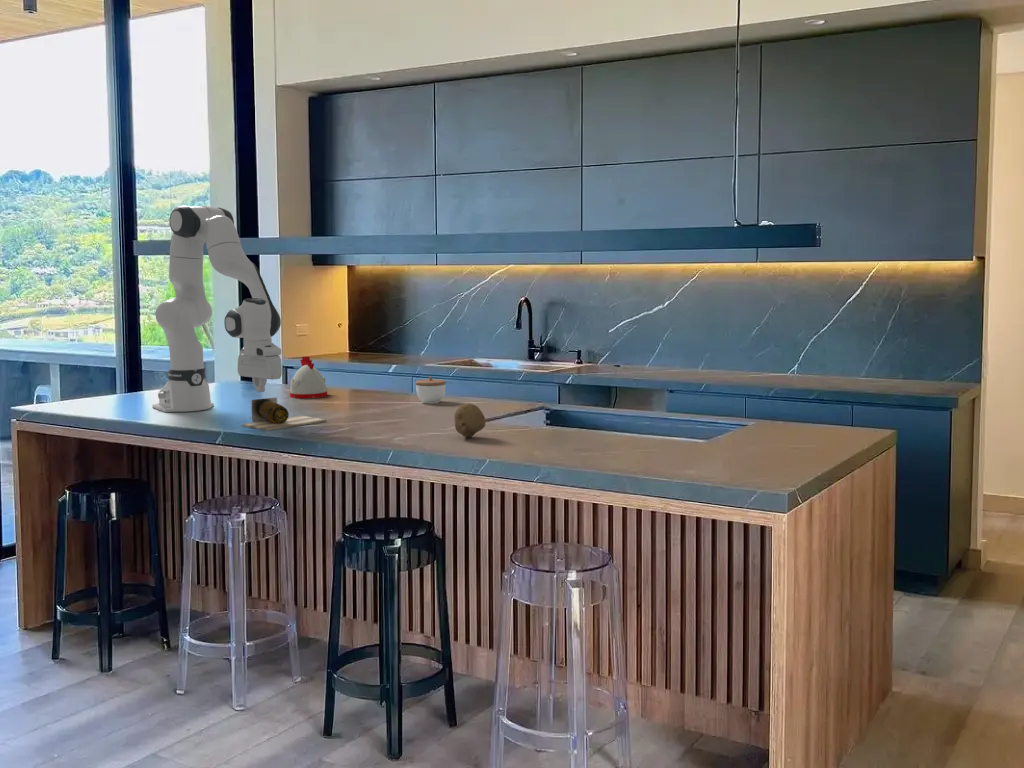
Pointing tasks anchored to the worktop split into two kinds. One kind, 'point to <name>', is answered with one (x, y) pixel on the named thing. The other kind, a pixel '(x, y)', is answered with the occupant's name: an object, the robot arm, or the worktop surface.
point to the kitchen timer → (307, 381)
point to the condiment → (268, 411)
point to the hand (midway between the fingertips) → (260, 391)
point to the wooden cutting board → (289, 423)
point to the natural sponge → (469, 420)
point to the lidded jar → (430, 390)
